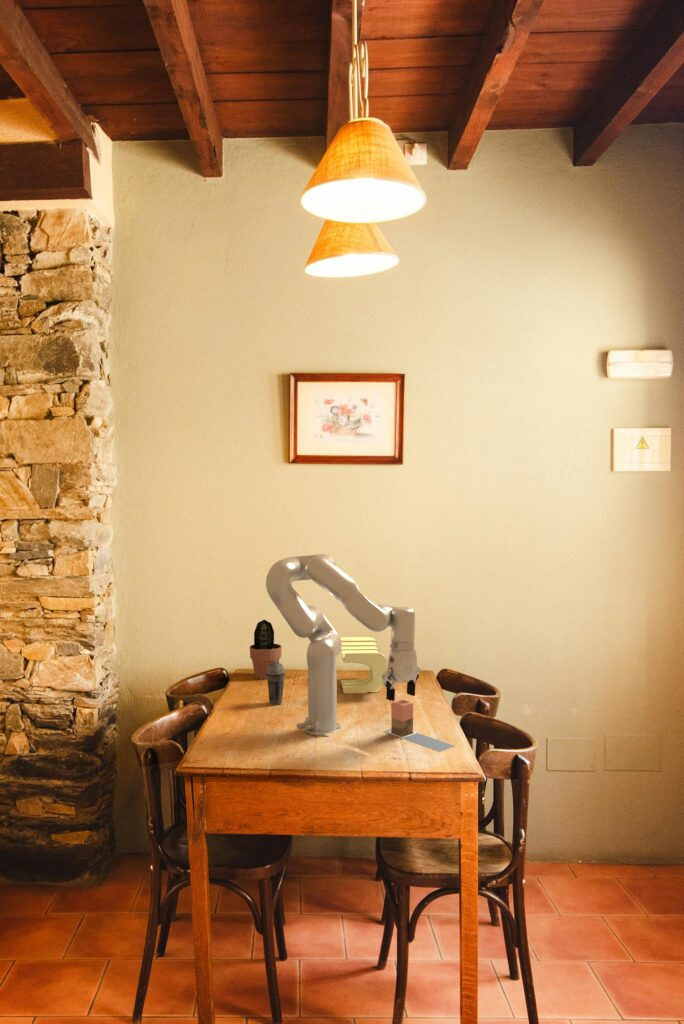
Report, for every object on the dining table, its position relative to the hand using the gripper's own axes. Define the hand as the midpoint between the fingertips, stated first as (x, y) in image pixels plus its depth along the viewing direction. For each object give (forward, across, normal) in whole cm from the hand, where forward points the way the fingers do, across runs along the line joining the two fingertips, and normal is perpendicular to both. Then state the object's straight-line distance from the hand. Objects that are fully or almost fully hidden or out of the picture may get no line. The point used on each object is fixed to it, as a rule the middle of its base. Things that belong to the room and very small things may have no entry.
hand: (400, 697), depth 234 cm
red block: (+7, 0, -1) cm, 7 cm away
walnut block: (+12, 0, -1) cm, 12 cm away
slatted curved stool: (+14, +30, +49) cm, 59 cm away
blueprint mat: (+12, 0, -8) cm, 15 cm away
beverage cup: (+14, -10, +55) cm, 57 cm away
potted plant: (+15, +10, +89) cm, 91 cm away
